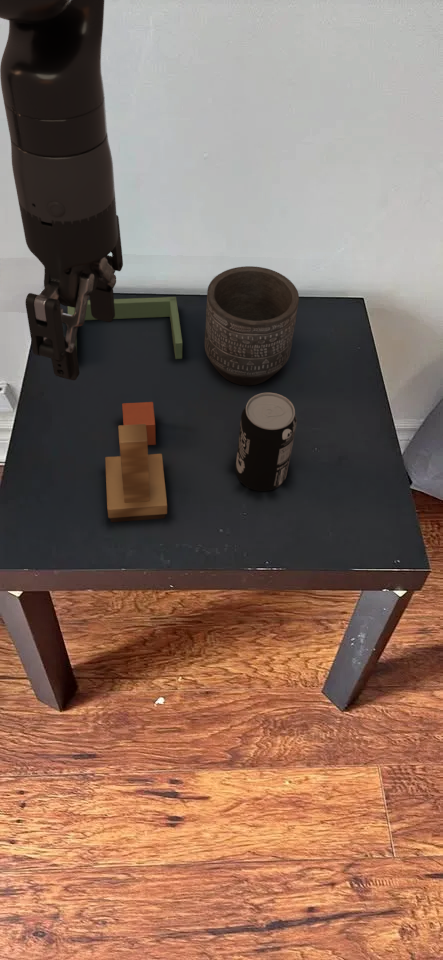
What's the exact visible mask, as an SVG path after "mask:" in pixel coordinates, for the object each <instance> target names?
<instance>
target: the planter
mask: <svg viewBox="0 0 443 960" xmlns="http://www.w3.org/2000/svg"><path fill="white" fill-rule="evenodd" d="M206 293H207V294H206V308H205V309H206V310H205V327H204V328H205V329H204V351H205V354H206V356H207V358H208V360H209V361H210V363H211V364H212V366H213V367H214V368H215V370H216V371H217V372H218V373H219V374H220V375H221V377H223V378H224V379H225V380H227V381H228V382H231V383H233V384H236V385H239V386H257V385H260V384H262V383H264V382H267V381H268V380H270V378H272V377H274V375H275V374H277V373H278V372H279V371H280V370H282V369H283V368H284V366H285V365H286V364H287V362H288V361H289V359H290V356H291V351H292V346H293V340H294V339H293V338H294V333H295V329H296V321H297V315H298V308H299V302H300V295H299V294H300V293H299V291H298V288H297V287H296V285H295V284H294V283H293V282H292V281H291V280H290V278H288V277H286V276H285V275H283V274H282V273H280V272H278V271H275V270H273V269H270V268H266V267H262V266H254V265H253V266H251V265H249V266H248V265H247V266H246V265H245V266H238V267H237V266H236V267H233V268H229V269H227V270H224V271H222V272H220V273H219V274H217V275H216V276H214V277H213V278H212V280H211V281H210V283H209V285H208V286H207V291H206Z"/></svg>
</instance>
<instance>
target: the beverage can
mask: <svg viewBox="0 0 443 960" xmlns="http://www.w3.org/2000/svg"><path fill="white" fill-rule="evenodd" d="M297 425H298V418H297V415H296V410H295V406H294V403H292V401H291V400H290V399H288V398H287V397H286V396H285V395H282V394H279V393H276V392H260V393H258V394H255V395H254V396H252V397H251V398H249V399H248V401H247V403H246V405H245V406H244V408H243V409H242V412H241V415H240V425H239V431H238V432H239V433H238V442H237V451H236V460H235V461H236V462H235V474H236V477H237V479H238V480H239V481H240V482H241V483H242V484H243V485H244V486H245V487H247V488H248V489H251V490H254V491H257V492H266V491H267V492H268V491H272V490H275V489H277V488H279V487H280V486H281V485H283V484H284V482H285V480H286V478H287V475H288V470H289V466H290V460H291V456H292V450H293V445H294V441H295V435H296V430H297Z"/></svg>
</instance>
